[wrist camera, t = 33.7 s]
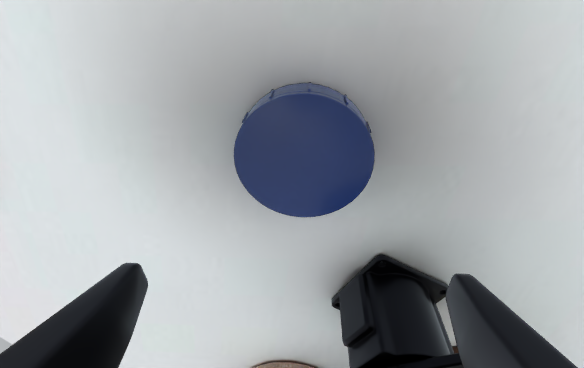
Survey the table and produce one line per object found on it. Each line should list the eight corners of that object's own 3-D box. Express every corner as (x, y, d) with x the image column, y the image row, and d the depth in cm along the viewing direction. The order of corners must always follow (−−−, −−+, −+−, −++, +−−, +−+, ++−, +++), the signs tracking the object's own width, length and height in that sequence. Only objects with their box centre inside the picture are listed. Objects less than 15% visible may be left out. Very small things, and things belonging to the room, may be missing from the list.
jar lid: (373, 191, 19) (378, 209, 17) (259, 206, 20) (254, 224, 18) (364, 69, 15) (369, 79, 13) (223, 97, 16) (214, 108, 14)
